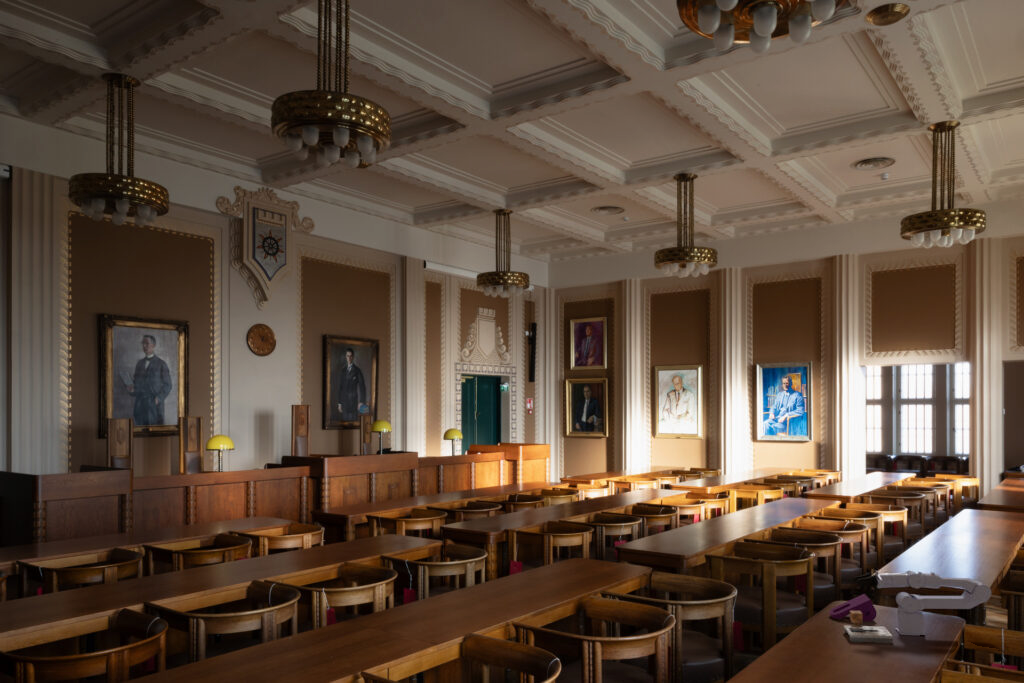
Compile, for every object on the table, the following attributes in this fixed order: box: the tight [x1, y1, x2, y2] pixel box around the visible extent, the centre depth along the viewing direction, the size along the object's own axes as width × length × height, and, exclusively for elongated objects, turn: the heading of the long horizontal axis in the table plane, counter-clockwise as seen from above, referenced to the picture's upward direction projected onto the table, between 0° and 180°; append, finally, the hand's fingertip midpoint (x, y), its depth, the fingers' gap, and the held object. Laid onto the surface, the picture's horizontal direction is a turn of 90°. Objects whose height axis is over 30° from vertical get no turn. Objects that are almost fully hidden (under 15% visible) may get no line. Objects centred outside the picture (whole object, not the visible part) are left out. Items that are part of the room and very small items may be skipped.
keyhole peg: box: [849, 611, 864, 626], centre depth 332 cm, size 4×4×8 cm
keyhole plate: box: [843, 624, 894, 644], centre depth 321 cm, size 16×12×3 cm
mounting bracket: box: [829, 593, 877, 622], centre depth 349 cm, size 9×8×18 cm
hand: (855, 581), depth 332 cm, fingers open, 7 cm apart
